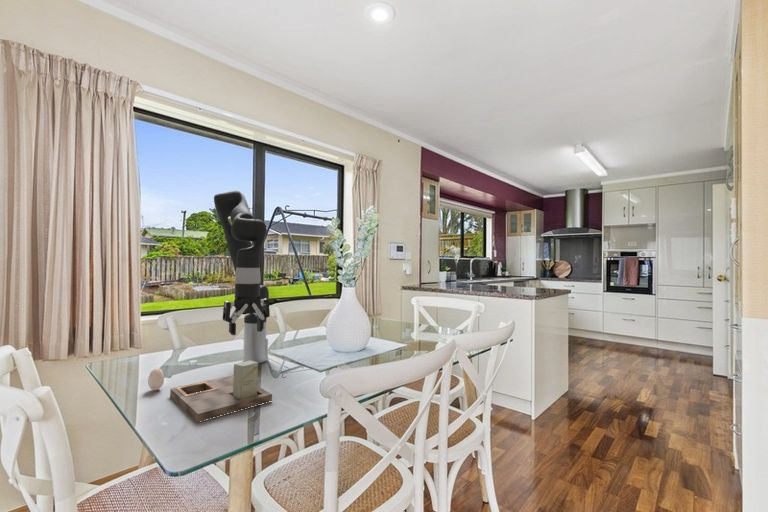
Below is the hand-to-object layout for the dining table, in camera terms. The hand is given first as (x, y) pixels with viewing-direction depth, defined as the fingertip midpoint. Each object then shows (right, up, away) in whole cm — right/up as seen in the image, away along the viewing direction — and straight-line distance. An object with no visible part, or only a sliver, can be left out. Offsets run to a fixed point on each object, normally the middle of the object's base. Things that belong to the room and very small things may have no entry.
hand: (246, 333), depth 116 cm
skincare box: (0, -22, 0) cm, 22 cm away
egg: (-34, -21, +8) cm, 41 cm away
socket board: (-9, -21, +1) cm, 23 cm away
